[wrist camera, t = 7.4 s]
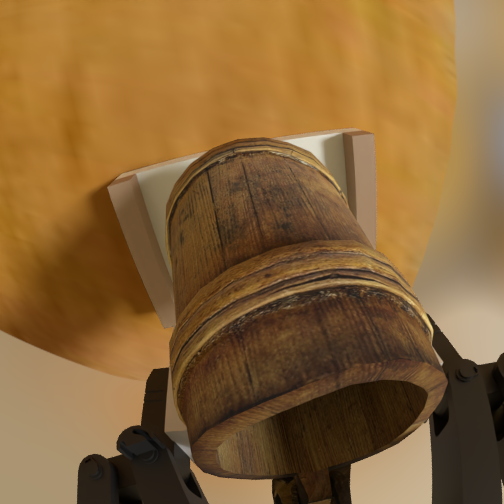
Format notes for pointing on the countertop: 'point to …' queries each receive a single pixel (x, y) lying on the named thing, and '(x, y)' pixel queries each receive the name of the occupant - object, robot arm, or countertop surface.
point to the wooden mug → (288, 325)
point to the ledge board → (167, 173)
